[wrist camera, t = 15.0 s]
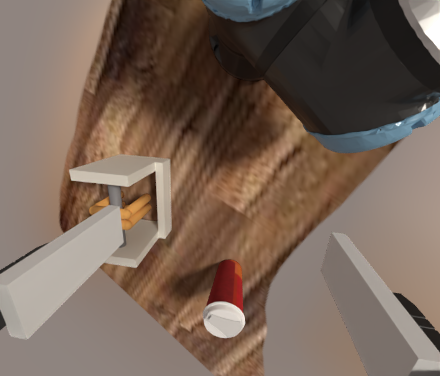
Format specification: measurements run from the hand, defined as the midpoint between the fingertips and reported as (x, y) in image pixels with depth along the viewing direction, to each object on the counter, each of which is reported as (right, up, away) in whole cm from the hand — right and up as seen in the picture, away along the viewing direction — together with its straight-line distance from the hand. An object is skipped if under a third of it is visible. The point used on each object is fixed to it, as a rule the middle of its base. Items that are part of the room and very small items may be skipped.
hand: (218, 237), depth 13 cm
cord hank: (-19, 0, +32) cm, 37 cm away
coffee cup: (+3, -18, +40) cm, 44 cm away
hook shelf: (-18, +2, +36) cm, 40 cm away
